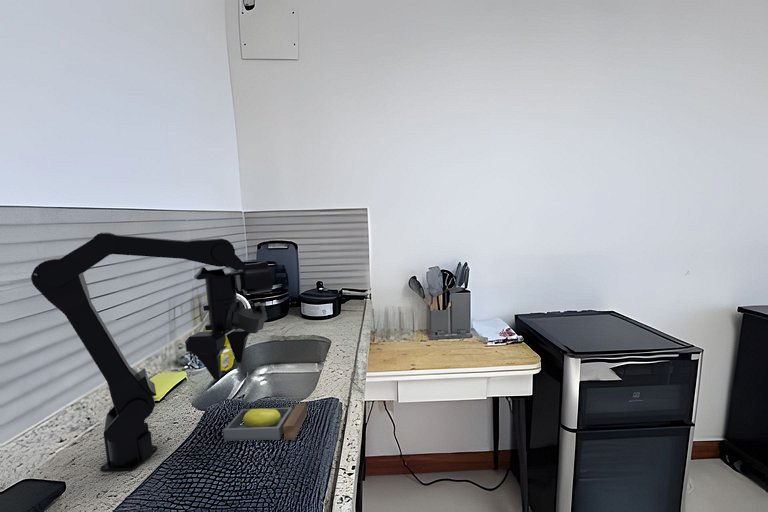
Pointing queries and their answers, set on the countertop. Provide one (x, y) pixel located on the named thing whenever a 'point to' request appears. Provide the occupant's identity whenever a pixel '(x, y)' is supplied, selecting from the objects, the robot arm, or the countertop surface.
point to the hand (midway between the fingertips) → (229, 370)
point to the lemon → (261, 417)
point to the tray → (256, 433)
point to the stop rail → (295, 421)
